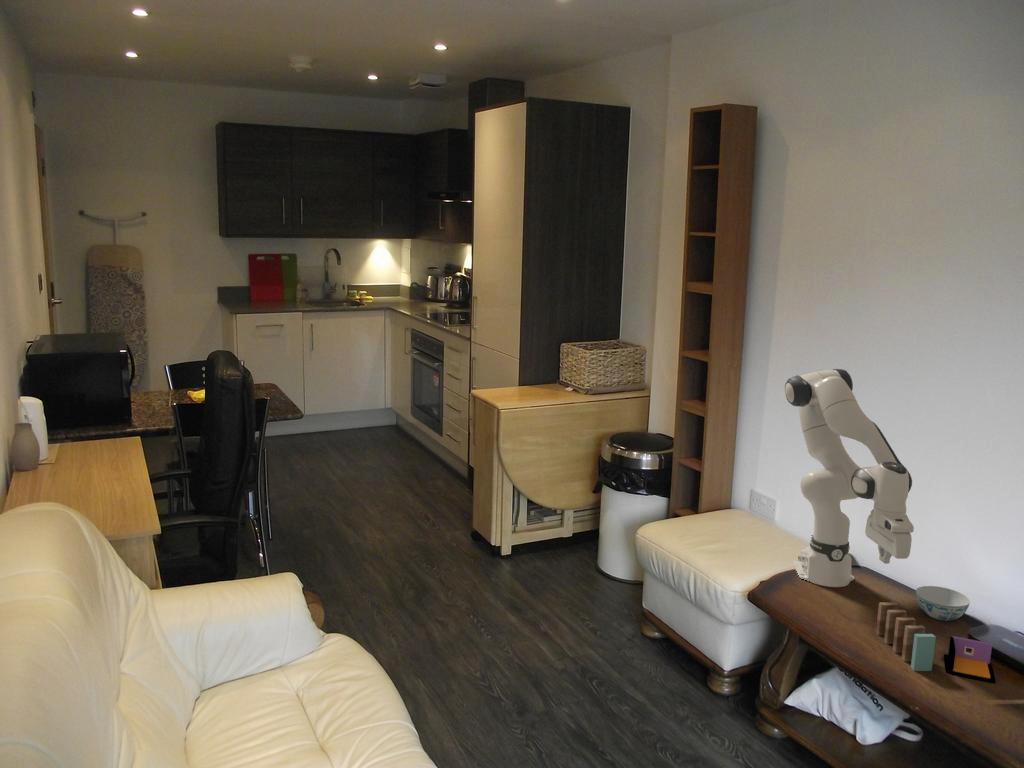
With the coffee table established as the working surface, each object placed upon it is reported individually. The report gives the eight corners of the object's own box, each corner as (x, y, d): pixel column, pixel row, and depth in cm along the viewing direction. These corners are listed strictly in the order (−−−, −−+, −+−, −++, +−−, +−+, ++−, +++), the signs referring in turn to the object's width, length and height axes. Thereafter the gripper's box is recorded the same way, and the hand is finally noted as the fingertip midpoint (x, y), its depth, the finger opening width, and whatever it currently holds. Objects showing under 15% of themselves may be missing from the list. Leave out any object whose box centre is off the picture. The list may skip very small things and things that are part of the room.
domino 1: (878, 636, 246) (881, 604, 244) (875, 634, 247) (879, 602, 246) (894, 636, 246) (898, 604, 244) (892, 634, 248) (895, 602, 246)
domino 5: (913, 670, 226) (917, 636, 224) (910, 667, 228) (914, 633, 226) (931, 670, 226) (935, 636, 225) (928, 667, 228) (932, 633, 226)
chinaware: (912, 622, 256) (914, 599, 254) (914, 604, 269) (916, 582, 267) (967, 634, 249) (970, 610, 247) (966, 615, 262) (969, 592, 260)
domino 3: (895, 652, 236) (898, 620, 234) (892, 650, 237) (896, 617, 236) (912, 653, 236) (916, 620, 234) (909, 650, 238) (913, 617, 236)
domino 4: (904, 661, 231) (908, 628, 229) (901, 658, 233) (905, 625, 231) (921, 661, 231) (925, 628, 230) (918, 658, 233) (922, 625, 231)
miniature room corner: (942, 655, 236) (945, 632, 235) (991, 664, 231) (994, 642, 230) (945, 674, 225) (948, 651, 224) (996, 685, 220) (999, 661, 219)
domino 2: (886, 644, 241) (890, 612, 239) (883, 641, 242) (887, 609, 241) (903, 644, 241) (907, 612, 239) (900, 642, 243) (904, 609, 241)
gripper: (862, 506, 256) (857, 549, 258) (895, 528, 236) (890, 575, 238) (882, 506, 256) (877, 549, 258) (917, 529, 236) (912, 575, 238)
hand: (884, 561), depth 248 cm, fingers closed
